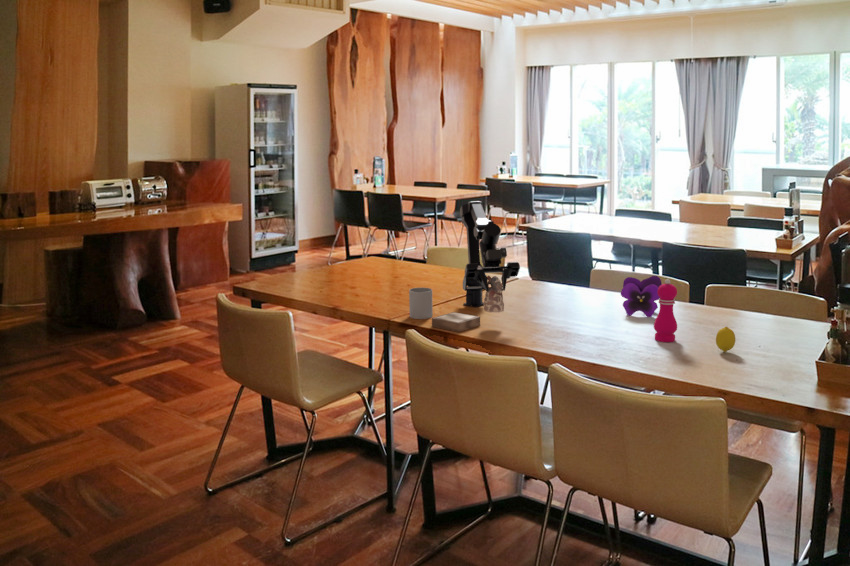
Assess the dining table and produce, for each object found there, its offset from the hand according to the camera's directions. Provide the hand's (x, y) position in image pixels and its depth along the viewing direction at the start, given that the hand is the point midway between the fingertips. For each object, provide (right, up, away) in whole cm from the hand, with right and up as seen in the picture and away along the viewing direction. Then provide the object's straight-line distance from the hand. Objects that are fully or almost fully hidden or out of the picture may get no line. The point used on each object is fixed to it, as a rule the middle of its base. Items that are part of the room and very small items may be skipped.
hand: (495, 290), depth 263 cm
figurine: (0, -7, +3) cm, 8 cm away
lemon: (+67, -19, -29) cm, 75 cm away
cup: (-26, -10, +20) cm, 34 cm away
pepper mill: (+53, -16, -15) cm, 58 cm away
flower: (+56, -9, +22) cm, 61 cm away
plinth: (-13, -12, +6) cm, 19 cm away
